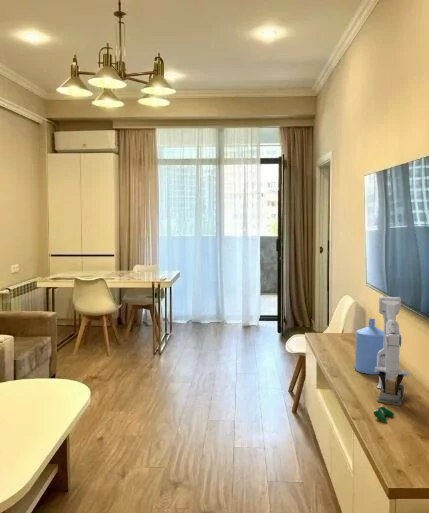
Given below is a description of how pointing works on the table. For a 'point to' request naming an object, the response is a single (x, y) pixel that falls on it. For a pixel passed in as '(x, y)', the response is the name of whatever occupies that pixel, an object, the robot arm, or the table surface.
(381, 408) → the gaming controller
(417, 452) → the table surface
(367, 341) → the water jug
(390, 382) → the brown rectangular block
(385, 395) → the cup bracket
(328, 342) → the table surface
